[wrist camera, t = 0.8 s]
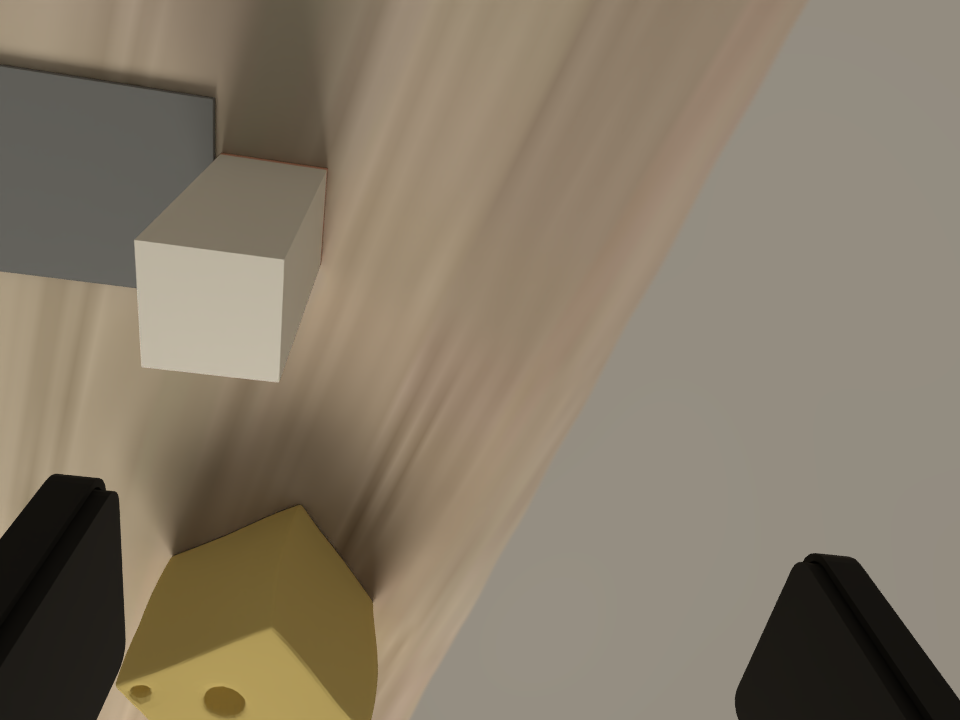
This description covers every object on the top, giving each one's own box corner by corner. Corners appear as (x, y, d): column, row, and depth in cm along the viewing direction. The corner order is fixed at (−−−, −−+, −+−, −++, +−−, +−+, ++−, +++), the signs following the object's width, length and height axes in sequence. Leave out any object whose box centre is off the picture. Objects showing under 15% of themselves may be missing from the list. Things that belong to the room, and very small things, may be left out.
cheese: (252, 652, 53) (216, 793, 44) (160, 549, 48) (98, 685, 39) (385, 603, 51) (375, 739, 42) (303, 491, 46) (272, 619, 37)
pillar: (221, 152, 36) (134, 239, 26) (327, 168, 37) (284, 259, 26) (221, 250, 38) (141, 367, 28) (321, 263, 39) (279, 382, 28)
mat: (-65, 53, 33) (-71, 55, 33) (215, 98, 35) (212, 99, 34) (-30, 263, 38) (-34, 267, 38) (215, 294, 39) (213, 297, 39)
